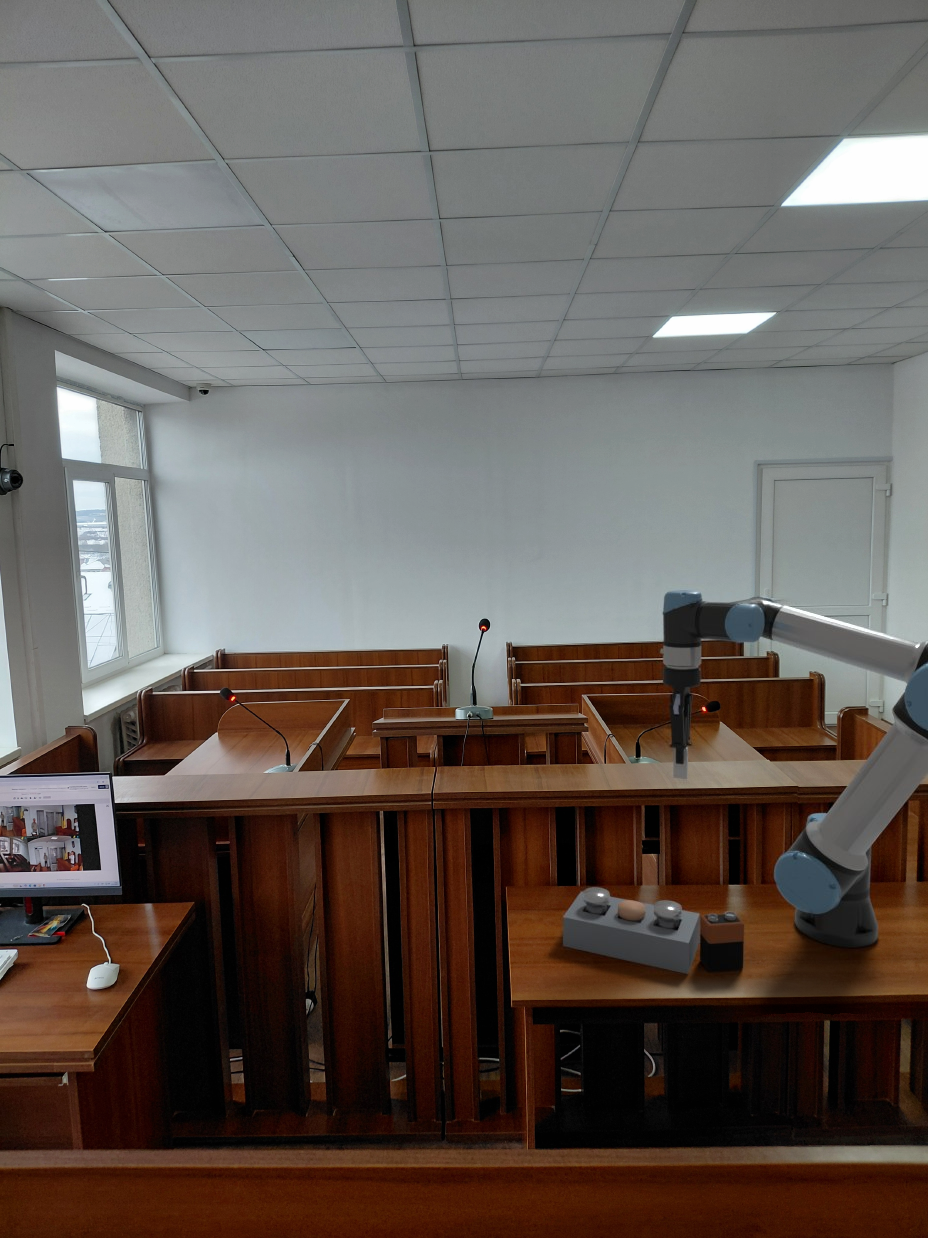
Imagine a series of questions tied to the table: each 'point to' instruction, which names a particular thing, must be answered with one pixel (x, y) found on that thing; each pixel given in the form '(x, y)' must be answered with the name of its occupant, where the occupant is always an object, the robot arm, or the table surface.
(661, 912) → the plunger
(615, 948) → the console
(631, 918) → the plunger mid
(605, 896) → the plunger
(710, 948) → the battery
